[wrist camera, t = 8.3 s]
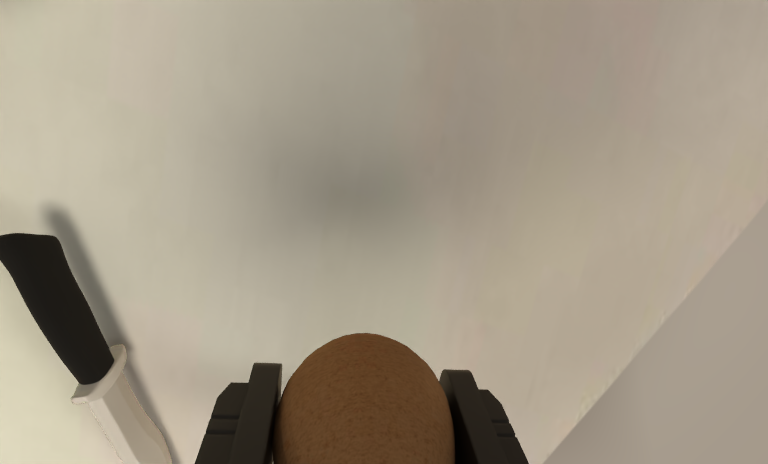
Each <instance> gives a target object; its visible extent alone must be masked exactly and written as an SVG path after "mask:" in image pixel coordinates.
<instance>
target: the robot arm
mask: <svg viewBox="0 0 768 464" xmlns="http://www.w3.org/2000/svg"><path fill="white" fill-rule="evenodd" d="M281 379H282V364H277V363H254V365H253V368H252V372H251V375H250V379H249V383H230V384H229V385H228V387H227V388H226V389H225V390H224V391H223V392H222V393H221V394H220V395H219V397H218V398H217V401H216V404H215V406H214V409H213V412H212V415H211V419H210V421H209V424H208V427H207V430H206V434H205V436H204V438H203V441H202V444H201V447H200V450H199V453H198V456H197V459H196V462H195V464H273V454H272V438H273V430H274V422H275V414H276V409H277V407H278V404H279V402H280V399H281ZM439 383H440V384H441V386H442V388H443V390H444V393H445V395H446V397H447V400H448V403H449V408H450V412H451V416H452V420H453V426H454V434H455V464H529V463H528V461H527V459H526V456H525V454H524V452H523V450H522V448H521V446H520V443H519V441H518V439H517V437H515V433H514V430H513V428H512V426H511V424H509V420H508V417H507V415H506V413H505V411H504V409H503V407H502V404H501V403H500V402H499V401H498V400H497V399H496V398H495V397H494V396H493V395H492V394H491V392H490V391H489V390H479V389H478V387H477V385H476V382H475V380H474V378H473V375H472V373H471V372H470V371H469V370H443V371H442V373H441V377H440V381H439Z"/></svg>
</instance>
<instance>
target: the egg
mask: <svg viewBox="0 0 768 464" xmlns="http://www.w3.org/2000/svg"><path fill="white" fill-rule="evenodd" d="M272 454H273V464H455V434H454V426H453V420H452V416H451V412H450V408H449V403H448V400H447V397H446V395H445V393H444V390H443V388H442V386H441V384H440V383H439V381H438V379H437V377H436V376H435V374H434V372H433V371H432V370H431V368H430V367H429V366H428V364H427V363H426V362H425V361H424V360H422V359H421V358H420V357H419V356H418V355H417V354H416V353H414V352H413V351H412V350H411V349H410V348H408V347H407V346H405V345H403V344H401V343H400V342H398V341H396V340H393V339H390V338H388V337H384V336H381V335H377V334H370V333H357V334H351V335H346V336H342V337H339V338H337V339H334V340H332V341H330V342H329V343H327V344H325V345H323V346H322V347H320V348H318V349H317V350H315V351H314V352H313V353H312V354H311V355H309V356H308V357H307V358H306V359H305V360H304V361H303V363H302V364H301V365H300V366H299V367H298V369H297V370H296V371H295V372H294V374H293V375H292V376H291V378H290V379H289V381H288V383H287V385H286V387H285V389H284V391H283V394H282V396H281V399H280V402H279V404H278V407H277V409H276V414H275V422H274V430H273V438H272Z"/></svg>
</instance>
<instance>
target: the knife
mask: <svg viewBox="0 0 768 464" xmlns="http://www.w3.org/2000/svg"><path fill="white" fill-rule="evenodd" d="M0 260H1V262H2V263H3V265H4V266H5V267H6V269H7V270H8V271H9V273H10V275H11V276H12V278H13V280H14V282H15V284H16V286H17V288H18V290H19V292H20V294H21V295H22V297H23V299H24V301H25V303H26V305H27V307H28V309H29V311H30V312H31V314H32V316H33V317H34V319H35V321H36V322H37V324H38V326H39V327H40V329H41V330H42V332H43V334H44V335H45V337H46V338H47V340H48V341H49V343H50V344H51V346H52V347H53V349H54V350H55V352H56V353H57V354H58V356H59V357H60V359H61V360H62V361H63V363H64V364H65V365H66V366H67V368H68V369H69V370H70V372H71V373H72V374H73V375H74V377H75V378H76V379H77V381H78V382H79V384H78V386H77V389H76V391H75V393H74V395H73V396H72V397H71V401H72V403H73V404H82V403H87V404H88V406H89V408H90V409H91V411H92V413H93V415H94V416H95V418H96V420H97V421H98V423H99V425H100V426H101V428H102V430H103V432H104V433H105V435H106V437H107V438H108V440H109V442H110V444H111V445H112V447H113V449H114V451H115V452H116V454H117V456H118V457H119V459H120V460H121V461H122V463H123V464H172V460H171V456H170V453H169V450H168V447H167V444H166V442H165V439H164V437H163V435H162V434H161V432H160V430H159V429H158V428H157V426H156V425H155V424H154V423H153V422H152V420H151V419H150V418H149V417H148V415H147V414H146V413H145V411H144V410H143V408H142V407H141V405H140V404H139V402H138V401H137V399H136V397H135V395H134V394H133V392H132V390H131V388H130V386H129V384H128V382H127V380H126V378H125V376H124V374H123V372H122V370H123V368H124V366H125V364H126V359H127V353H126V349H125V346H124V345H123V344H120V345H113V346H111V347H110V348H109V347H108V345H107V343H106V341H105V339H104V337H103V335H102V333H101V331H100V329H99V326H98V324H97V322H96V320H95V318H94V315H93V313H92V311H91V309H90V307H89V305H88V303H87V301H86V299H85V297H84V295H83V293H82V292H81V290H80V288H79V286H78V284H77V282H76V280H75V279H74V277H73V275H72V272H71V270H70V268H69V266H68V263H67V260H66V258H65V255H64V252H63V249H62V246H61V244H60V242H59V240H58V239H57V238H56V237H55V236H51V235H35V234H24V233H13V234H6V235H1V236H0Z"/></svg>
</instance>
